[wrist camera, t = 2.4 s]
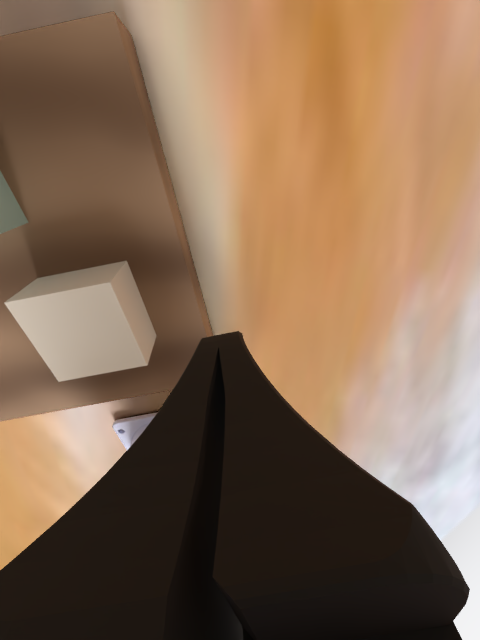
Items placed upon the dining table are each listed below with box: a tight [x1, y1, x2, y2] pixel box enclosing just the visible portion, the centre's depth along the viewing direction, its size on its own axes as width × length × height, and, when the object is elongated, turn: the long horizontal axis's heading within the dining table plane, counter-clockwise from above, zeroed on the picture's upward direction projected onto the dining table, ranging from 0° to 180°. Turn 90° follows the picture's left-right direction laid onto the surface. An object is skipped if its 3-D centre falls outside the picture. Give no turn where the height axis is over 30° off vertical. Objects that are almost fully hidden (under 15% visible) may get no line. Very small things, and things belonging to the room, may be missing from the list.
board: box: [0, 11, 213, 421], centre depth 15 cm, size 17×16×2 cm
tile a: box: [4, 261, 157, 382], centre depth 14 cm, size 4×4×3 cm
